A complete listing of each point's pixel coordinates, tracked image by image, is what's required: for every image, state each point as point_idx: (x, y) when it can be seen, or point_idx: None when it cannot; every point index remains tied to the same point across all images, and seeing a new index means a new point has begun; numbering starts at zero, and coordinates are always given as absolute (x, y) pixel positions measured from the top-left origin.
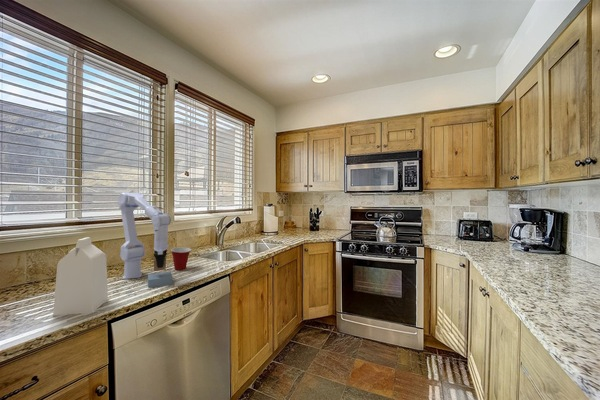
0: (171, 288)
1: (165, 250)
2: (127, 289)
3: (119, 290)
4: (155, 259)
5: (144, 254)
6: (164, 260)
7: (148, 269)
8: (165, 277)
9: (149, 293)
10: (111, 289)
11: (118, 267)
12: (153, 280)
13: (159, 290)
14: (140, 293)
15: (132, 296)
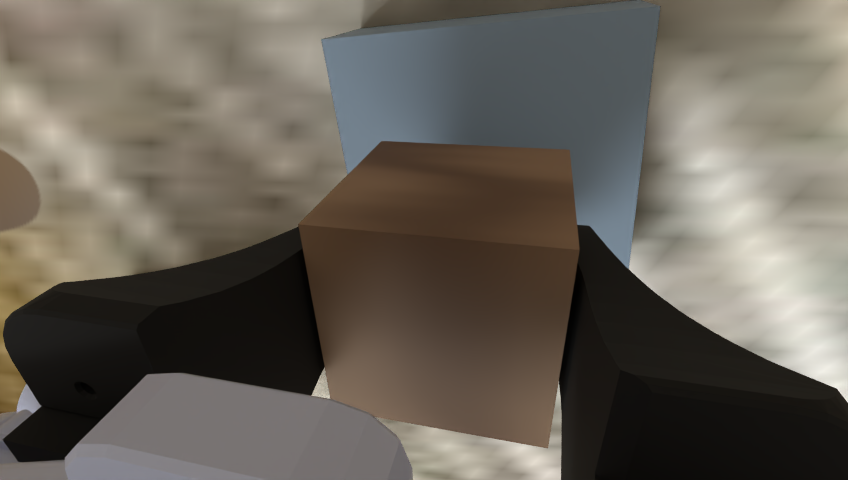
0: (835, 11)
1: (162, 372)
2: (558, 384)
3: (552, 422)
4: (436, 411)
5: (6, 429)
6: (572, 268)
7: (38, 230)
8: (629, 118)
9: (827, 254)
10: (499, 451)
11: (16, 386)
12: (627, 252)
13: (798, 159)
14: (754, 319)
15: (795, 371)
